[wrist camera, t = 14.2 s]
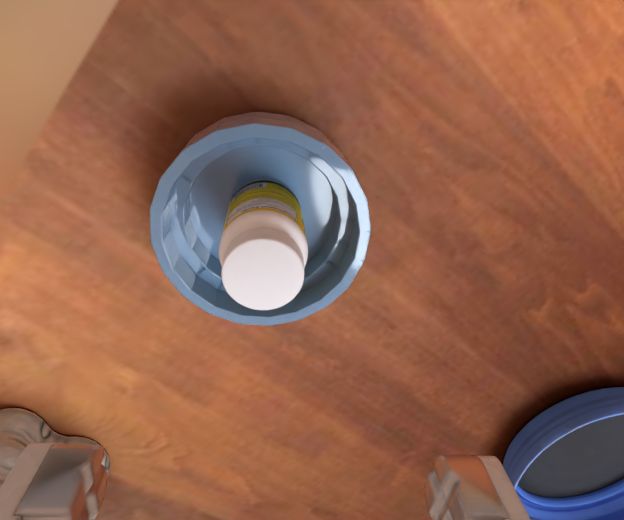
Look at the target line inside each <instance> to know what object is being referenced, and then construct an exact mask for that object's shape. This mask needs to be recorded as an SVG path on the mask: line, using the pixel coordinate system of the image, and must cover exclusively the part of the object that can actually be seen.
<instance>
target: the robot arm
mask: <svg viewBox="0 0 624 520" xmlns="http://www.w3.org/2000/svg"><path fill="white" fill-rule="evenodd" d="M104 455H105V454H104V449H103V446H100V445H80V444H60V443H36V442H31V443H30V444H29V445H28V446H27V447H26V448H25V449H24V450H23V451H22V453H21V455H20V456H19V458H18V460H17V461H16V463H15V465H14V466H13V468H12V470H11V471H10V473H9V474H8V476H7V478H6V479H5V481H4V483H3V484H2V486H1V488H0V520H90V519H91V518H92V517H93V516H94V515H96V514H97V513H98V512H99V509H100V507H101V504H102V501H103V498H104V493H105V489H106V484H107V469H106V467H105V466H104V465H102V464H101V463H102V461H103V458H104ZM433 465H434V468H435V471H433V472H432V473H430V474H429V475H428V477H427V479H426V482H425V500H426V505H427V509H428V512H429V515H430V516H431V517H432V518H433V519H434V520H532V519H530V517H529V515H528V513H527V511H526V509H525V507H524V506H523V504H522V502H521V500H520V498H519V496H518V494H517V492H516V490H515V488H514V487H513V485H512V483H511V481H510V479H509V477H508V475H507V473H506V471H505V470H504V468H503V466H502V464H501V462H500V460H499V459H498V458H497V457H496V456H475V455H438V456H437V457H436V458H435V460H434V462H433Z"/></svg>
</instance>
